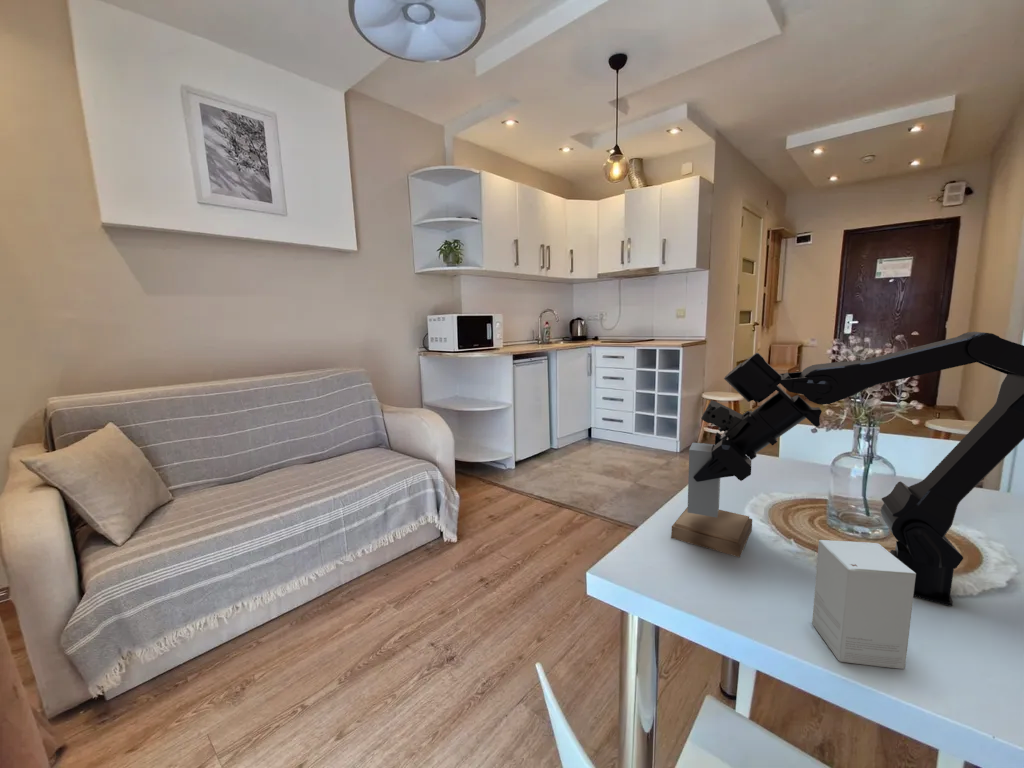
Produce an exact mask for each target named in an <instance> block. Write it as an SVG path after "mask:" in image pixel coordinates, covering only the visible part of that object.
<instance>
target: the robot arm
mask: <svg viewBox="0 0 1024 768" xmlns="http://www.w3.org/2000/svg"><path fill="white" fill-rule="evenodd" d="M911 348H913V349H911ZM911 348H907V349H903V350H899V351H895V352H892V353H887V354H883V355H879V356H874V357H872V358H867V359H863V360H862V359H861V360H852V361H836V362H828V363H827V362H825V363H817V364H812V365H810V366H807V367H805V368H804V369H802V371H795V372H784V373H779V372H778V371H777V370H775V368H774V367H772V366H771V365H770V364H769V362H767V361H766V360H765V357H763V356H762V355H761V354H760V353H759V352H755V353H754V354H753V355H752V356H750V357H749V358H747V359H746V360H744V361H743V362H742V363H741V362H740V363H739V364H738V365H736V366H735V367H734V368H733V369H732V370H731V371H730V372H729V373H728V374H726V376H724V377H723V380H725V381H726V382H727V384H729V385H730V386H731V387H732V388H733V389H734V390H735V391H736V392H737V393H738V394H739V395H740V396H741V397H742V398H743V399H745V400H746V401H747V402H748V403H749V402H752V401H753V402H754V403H761V402H763V401H764V400H766V399H767V400H766V401H764V402H763V403H762V404H761V405H759V406H758V407H757V408H755V409H754V410H753V411H752V410H747V411H745V412H744V413H743V414H742V413H739V412H738V411H735V410H734V409H732V408H730V407H728V406H726V405H724V404H722V403H720V402H718V401H715V400H711V399H710V402H709V403H708V405H707V406H706V409H704V412H703V414H702V416H701V420H702V421H704V422H705V423H707V424H712V425H714V426H716V427H718V431H719V432H720V433H722V432H723V433H722V434H720V433H719V432H718V431H717V432H716V433H715V437H714V444H713V446H712V450H711V452H712V457H711V458H710V459H709V460H708V461H707V462H706V463H705V464H704V466H703V467H702V468H701V469H700V470H699V471H698V472H697V473H696V474H695V475H694V477H693V478H694V479H695V480H696V481H697V482H700V481H706V480H711V479H717V478H720V479H723V478H729V477H735V478H736V479H737V480H738V481H740V482H742V481H744V480H745V479H747V478H749V476H751V475H752V460H754V459H755V458H757V453H759V452H760V451H762V450H763V449H764V448H766V447H767V446H769V445H771V446H774V445H775V444H777V443H778V439H779V438H780V437H781V436H783V435H784V434H786V433H787V432H789V431H790V430H791V429H792V428H793V429H794V427H795V426H797V425H799V424H800V423H801V422H802V421H805V419H807V421H809V422H810V423H811V424H812V425H813V426H814V427H817V428H818V427H820V426H821V423H820V422H821V414H822V411H823V410H822V409H821V408H820V407H813V406H810V404H809V403H807V402H806V400H804V399H803V398H802V397H801V396H800V395H803V396H804V397H805V398H806V399H807V400H808V401H809V402H812V403H813V404H817V405H822V406H823V405H830V404H834V403H837V402H839V401H842V400H844V399H847V398H850V397H852V396H855V395H857V394H860V393H861V392H863V391H865V390H868V389H869V388H872V387H875V386H877V385H882V384H885V383H890V382H891V383H892V382H894V381H895V382H896V381H898V380H905V379H908V378H912V377H917V376H922V375H926V374H930V373H934V372H938V371H943V370H948V369H952V368H957V367H961V366H965V365H970V364H974V363H977V364H979V365H983V366H985V367H987V368H989V369H991V370H994V371H997V372H1000V373H1002V374H1004V375H1006V376H1005V378H1004V379H1003V381H1002V383H1001V385H1000V388H999V391H998V393H997V398H996V401H995V403H994V405H993V407H992V408H990V409H989V411H988V412H987V413H986V414H985V415H984V416H983V417H982V418H981V419H980V420H979V421H978V422H977V423H976V424H975V425H974V426H973V427H972V428H971V429H970V431H969V432H967V433H966V435H965V436H964V437H963V438H962V439H961V440H960V441H959V442H958V443H957V445H955V447H954V448H953V449H951V451H950V452H949V453H948V454H947V455H946V456H944V458H943V459H942V460H941V461H940V462H939V463H938V464H937V465H936V466H935V468H933V470H932V471H930V473H929V474H928V475H927V476H926V477H925V478H924V479H923V480H921V481H919V482H917V483H914V484H912V485H909V486H908V485H907V484H905V483H903V482H902V481H898V482H897V483H896V484H895V486H894V487H893V489H892V491H891V492H890V493H889V494H887V495H886V496H884V497H882V498H881V501H882V502H883V504H882V506H881V508H880V514H881V517H882V519H883V522H884V523H885V525H887V528H888V530H890V533H891V534H892V535H893V537H894V538H895V539H896V542H895V549H891V550H889V552H890V553H891V554H892V555H893V556H895V557H896V558H897V559H898V560H900V561H901V562H902V563H903V564H905V565H906V566H907V567H909V568H910V569H911V570H912V571H914V572H915V573H916V578H915V586H914V595H913V597H917V598H920V599H924V600H927V601H931V602H935V603H936V604H937V603H938V604H941V605H945V606H949V607H952V606H953V603H954V602H953V598H952V596H951V593H952V592H951V591H952V585H953V577H954V571H955V569H957V568H958V567H959V565H960V564H961V563H962V561H963V560H964V556H963V555H962V554H961V553H960V551H959V550H958V549H957V548H956V547H955V545H953V542H952V543H951V542H950V540H949V539H948V538H947V537H946V536H947V533H948V531H949V530H951V527H952V526H953V524H954V520H955V517H956V513H957V510H958V506H959V504H960V502H961V501H962V500H963V499H964V498H966V497H967V496H968V494H969V493H971V492H972V491H973V489H974V488H975V487H976V486H978V485H979V484H980V483H981V482H982V481H983V480H984V479H985V478H986V477H987V476H988V475H989V474H990V473H991V472H992V471H993V470H994V469H995V468H996V467H997V466H998V465H999V464H1000V463H1001V462H1002V461H1003V460H1004V459H1005V458H1006V457H1007V456H1008V455H1009V454H1010V453H1011V452H1013V450H1014V449H1015V448H1016V447H1017V446H1018V445H1019V444H1020V443H1021V442H1022V441H1023V440H1024V345H1023V344H1019V343H1017V342H1013V341H1011V340H1008V339H1005V338H1002V337H1000V336H999V335H997V334H994V333H992V332H991V333H990V332H983V331H970V332H969V331H967V332H965V333H963V334H960V335H958V336H955V337H951V338H947V339H944V340H939V341H935V342H931V343H927V344H923V345H918V346H915V347H911ZM779 385H781V386H782V387H783V388H785V390H786V391H788V392H789V393H794V394H797V395H793V396H791V395H790V394H788V393H787V392H786V391H785V390H784V389H782V388H781V387H780V386H779ZM776 391H777V392H776ZM774 392H776V393H775V394H774V395H772V394H773V393H774ZM798 394H799V395H798ZM771 395H772V397H770V396H771ZM769 397H770V398H769ZM714 445H715V446H714Z"/></svg>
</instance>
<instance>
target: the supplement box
mask: <svg viewBox="0 0 1024 768" xmlns="http://www.w3.org/2000/svg"><path fill="white" fill-rule="evenodd" d="M817 545H818V547H817V557H816V569H815V570H816V571H815V572H816V573H815V585H814V593H813V594H814V595H813V606H812V607H813V608H812V616H811V618H812V620H811V624H812V625H813V627H814V628H815V629H816V631H817V632H818V634H819V635H820V636H821V638H822V639H823V641H824V642H825V643H826V645H827V647H828V648H829V649H830V650H831V651H832V653H833V655H834V656H835V657H836V659H837V661H839V662H840V663H848V664H857V665H865V666H872V667H881V668H891V669H901V670H904V669H905V668H906V663H907V655H908V647H909V639H910V638H909V637H910V627H911V620H912V613H913V612H912V610H913V603H914V596H913V595H914V586H915V578H916V573H915V572H914V571H912V570H911V569H910V568H909V567H907V566H906V565H905V564H903V563H902V562H901V561H900V560H898V559H897V558H896V557H895V556H893V555H892V554H891V553H890V551H888V550H887V549H886V548H885V547H883V545H881V544H880V543H878V542H864V541H850V540H849V541H848V540H847V541H846V540H828V539H819V540H818V544H817Z"/></svg>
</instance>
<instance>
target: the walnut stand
mask: <svg viewBox="0 0 1024 768" xmlns="http://www.w3.org/2000/svg"><path fill="white" fill-rule="evenodd" d="M752 529H753V518H750V516H749V515H744V514H741V513H740V514H739V513H736V512H732V511H727V510H722V509H719V511H718V517H711V516H705V515H699V514H693V513H688V506H687V507H686V508H685V509H684V511H683V512H682V513H681V515H680V516H679V517H678V518H677V519H676V521H675V522H673V524H672V525H671V537H670V538H671V539H674V540H677V541H680V542H684V543H688V544H692V545H695V546H699V547H702V548H706V549H708V550H709V549H710V550H712V551H713V550H714V551H716V552H720V553H723V554H727V555H730V556H734V557H738V558H740V557H741V555H742V553H743V551H744V549H745V546H746V544H747V541H748V540H749V538H750V535H751V532H752V531H753V530H752Z"/></svg>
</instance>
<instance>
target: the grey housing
mask: <svg viewBox="0 0 1024 768" xmlns="http://www.w3.org/2000/svg"><path fill="white" fill-rule="evenodd" d="M713 445H714V446H715V444H712V443H702V442H700V443H699V442H692V443H691V445H690V447H689V450H688V476H687V477H688V482H687V483H688V485H687V507H688V513H693V514H699V515H705V516H711V517H718V511H719V510H720V498H721V497H720V496H721V495H720V494H721V478H717V479H711V480H706V481H700V482H697V481H696V480H695V479H694V478H693V477H694V475H695V474H696V473H697V472H698V471H699V470H700V469H701V468H702V467H703V466H704V464H705V463H706V462H707V461H708V460H709V459H710V458H711V457H712V452H711V450H712V446H713Z"/></svg>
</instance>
